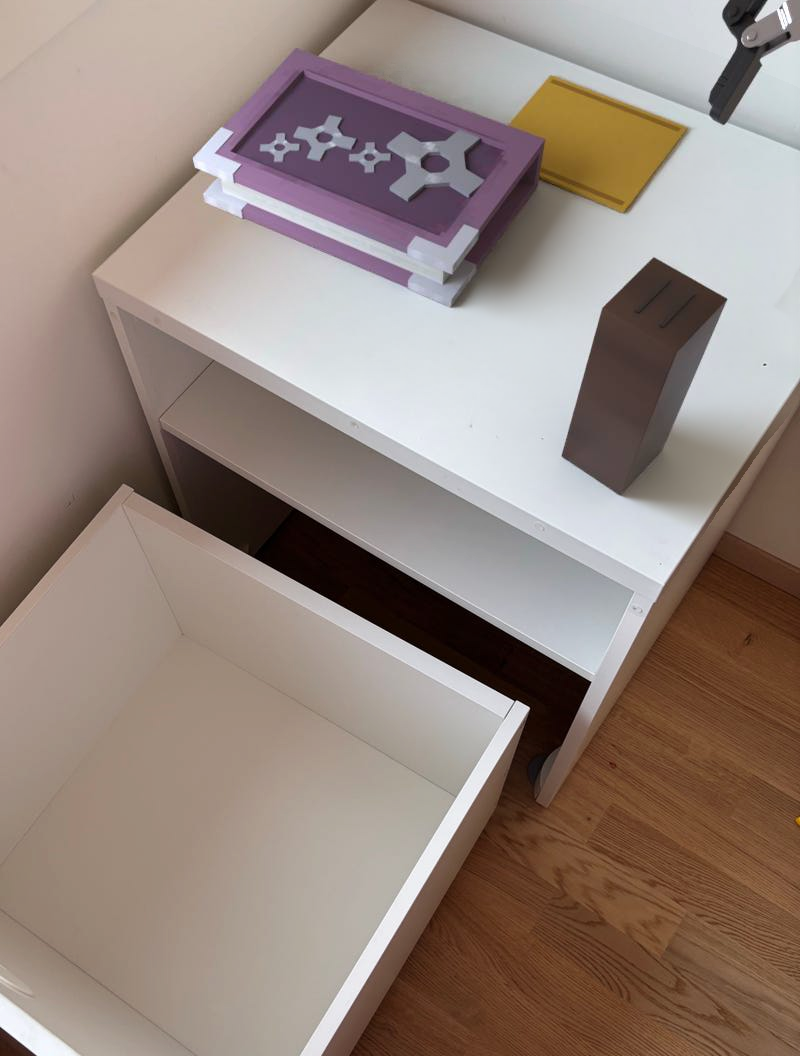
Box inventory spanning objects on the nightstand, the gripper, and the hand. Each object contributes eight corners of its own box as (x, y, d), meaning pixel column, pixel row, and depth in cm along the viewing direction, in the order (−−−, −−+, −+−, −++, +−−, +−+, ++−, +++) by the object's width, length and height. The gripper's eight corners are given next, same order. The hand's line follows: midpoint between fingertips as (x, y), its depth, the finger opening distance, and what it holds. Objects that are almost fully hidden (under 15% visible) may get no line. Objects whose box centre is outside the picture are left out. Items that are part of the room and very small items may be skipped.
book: (202, 205, 90) (192, 157, 85) (298, 96, 95) (294, 46, 90) (449, 310, 83) (452, 265, 79) (538, 187, 88) (546, 138, 84)
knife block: (603, 411, 78) (654, 255, 63) (662, 449, 76) (728, 297, 62) (560, 456, 77) (601, 306, 62) (620, 496, 75) (676, 351, 60)
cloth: (686, 130, 90) (687, 126, 90) (623, 213, 86) (624, 210, 86) (550, 77, 94) (550, 74, 94) (484, 155, 90) (484, 152, 90)
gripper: (848, -237, 52) (662, 84, 59) (1119, -141, 47) (881, 194, 54) (859, -168, 58) (689, 115, 65) (1099, -77, 53) (888, 216, 61)
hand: (777, 151), depth 60 cm, fingers open, 8 cm apart
